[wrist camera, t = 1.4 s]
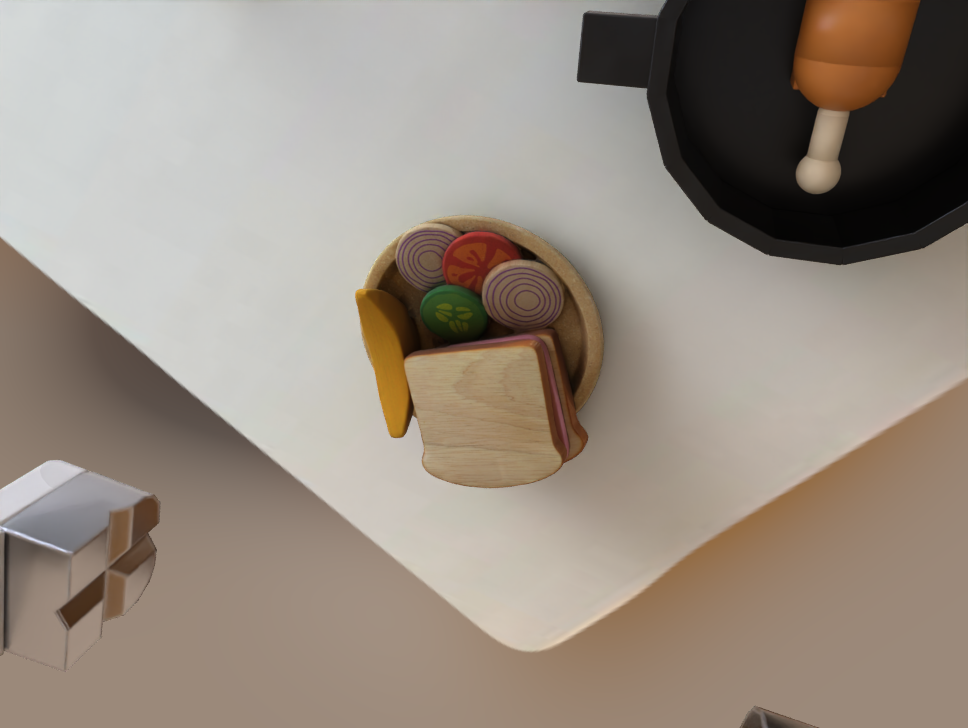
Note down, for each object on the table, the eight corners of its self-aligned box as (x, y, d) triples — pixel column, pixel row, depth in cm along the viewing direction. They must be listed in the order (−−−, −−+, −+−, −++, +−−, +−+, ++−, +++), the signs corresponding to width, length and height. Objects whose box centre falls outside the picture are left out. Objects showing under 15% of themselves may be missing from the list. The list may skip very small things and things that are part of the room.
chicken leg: (816, -65, 28) (826, -66, 25) (925, -60, 27) (949, -60, 24) (763, 175, 32) (766, 200, 29) (856, 186, 32) (869, 212, 28)
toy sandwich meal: (599, 202, 35) (581, 236, 31) (614, 454, 41) (600, 510, 37) (347, 213, 39) (302, 245, 35) (394, 443, 45) (360, 492, 41)
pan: (616, -160, 29) (597, -174, 25) (1209, -144, 25) (1296, -159, 21) (578, 196, 35) (559, 227, 32) (1043, 255, 31) (1086, 299, 28)
